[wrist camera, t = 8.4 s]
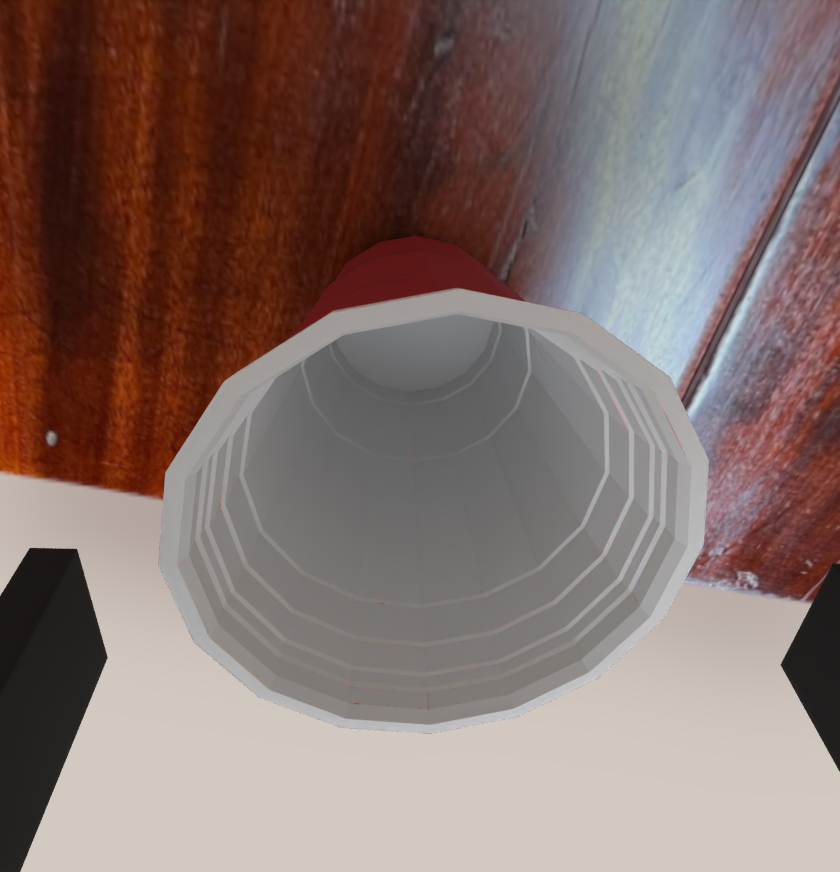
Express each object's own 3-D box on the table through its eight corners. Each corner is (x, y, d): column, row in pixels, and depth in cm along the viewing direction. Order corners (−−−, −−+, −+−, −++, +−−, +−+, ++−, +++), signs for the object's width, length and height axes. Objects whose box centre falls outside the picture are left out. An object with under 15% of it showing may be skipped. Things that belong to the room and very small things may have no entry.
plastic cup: (642, 319, 24) (826, 571, 14) (410, 495, 28) (425, 792, 18) (429, 54, 19) (478, 150, 9) (183, 308, 23) (33, 568, 13)
